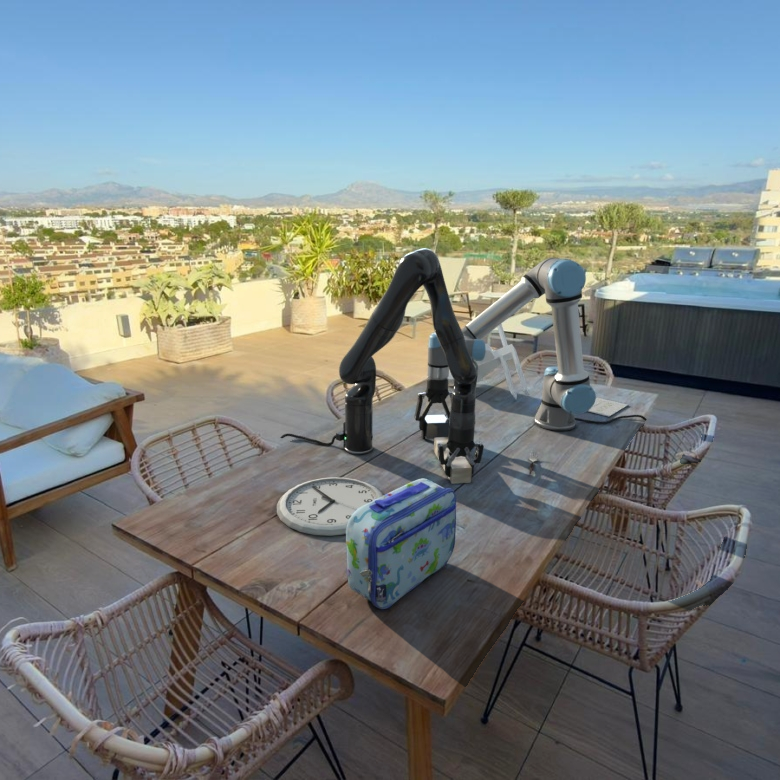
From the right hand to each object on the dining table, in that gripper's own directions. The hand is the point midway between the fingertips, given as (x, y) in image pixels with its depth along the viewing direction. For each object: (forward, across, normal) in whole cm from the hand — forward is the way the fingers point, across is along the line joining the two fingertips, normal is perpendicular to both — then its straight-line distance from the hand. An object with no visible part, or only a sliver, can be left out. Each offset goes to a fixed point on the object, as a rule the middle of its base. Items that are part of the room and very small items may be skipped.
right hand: (435, 437), depth 189 cm
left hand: (-1, 0, +32) cm, 32 cm away
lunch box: (0, +25, +77) cm, 81 cm away
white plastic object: (0, -33, -52) cm, 62 cm away
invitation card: (0, -80, -27) cm, 84 cm away
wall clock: (0, +39, +44) cm, 58 cm away
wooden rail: (0, 0, +23) cm, 23 cm away
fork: (0, -26, +26) cm, 37 cm away
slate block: (-1, 0, 0) cm, 1 cm away
